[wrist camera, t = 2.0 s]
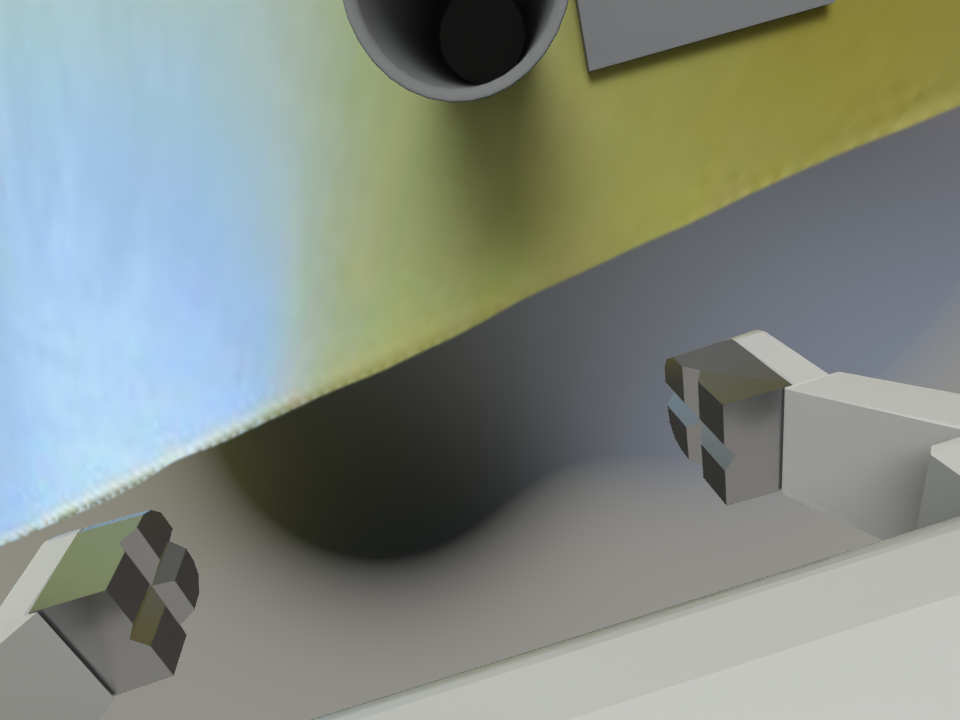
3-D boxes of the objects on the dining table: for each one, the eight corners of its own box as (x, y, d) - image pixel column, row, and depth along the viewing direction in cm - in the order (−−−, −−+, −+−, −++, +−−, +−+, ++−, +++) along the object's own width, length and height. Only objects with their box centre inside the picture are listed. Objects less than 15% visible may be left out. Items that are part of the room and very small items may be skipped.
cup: (434, -57, 29) (360, -211, 16) (565, -18, 30) (606, -134, 16) (406, 88, 32) (321, 67, 18) (526, 123, 32) (532, 128, 18)
